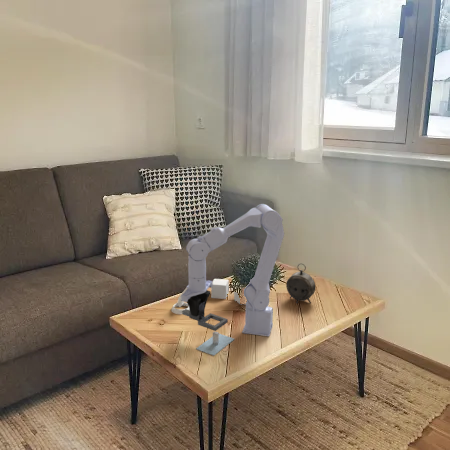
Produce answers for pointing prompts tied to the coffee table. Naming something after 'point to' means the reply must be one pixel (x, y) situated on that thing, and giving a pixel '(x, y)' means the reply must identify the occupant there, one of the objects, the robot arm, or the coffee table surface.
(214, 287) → the white cube
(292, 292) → the alarm clock
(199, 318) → the grey block with tab
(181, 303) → the hook
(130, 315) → the coffee table surface
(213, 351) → the keeper
